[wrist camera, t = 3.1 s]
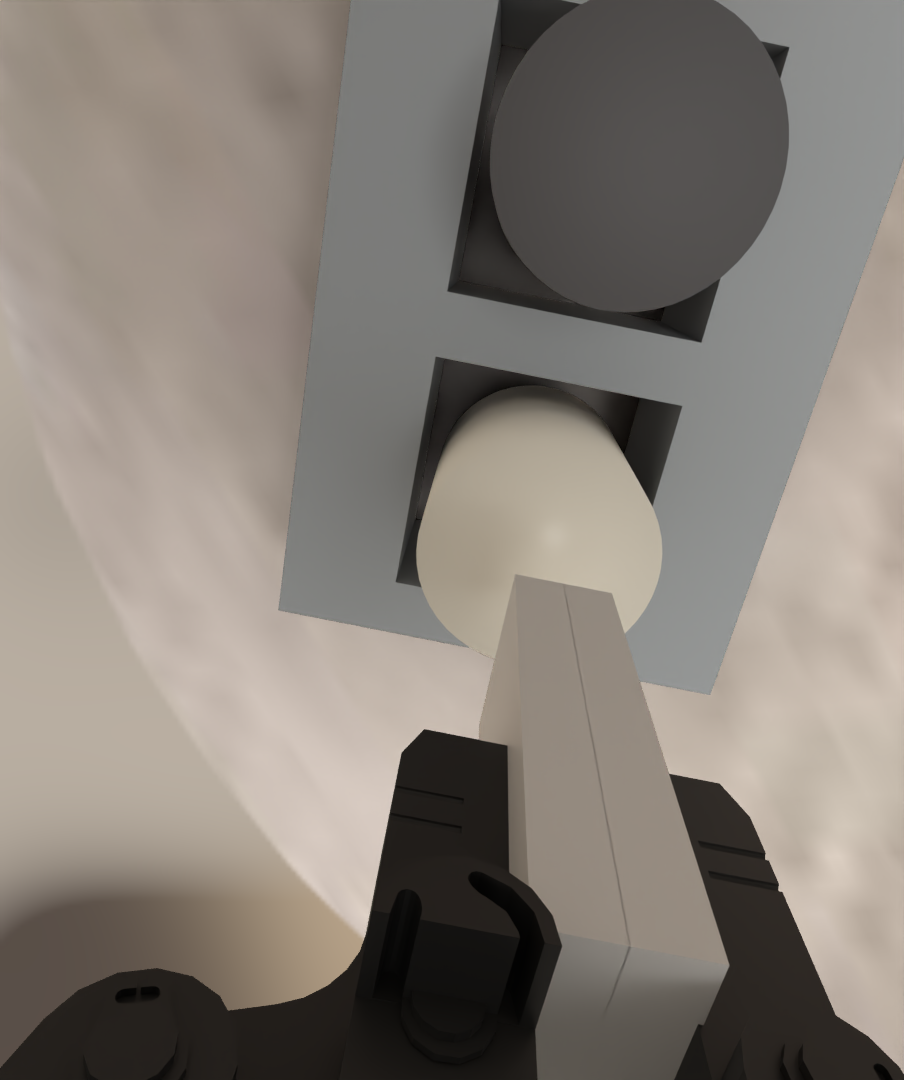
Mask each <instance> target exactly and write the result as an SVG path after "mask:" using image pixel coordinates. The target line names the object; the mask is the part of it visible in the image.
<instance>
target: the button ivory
mask: <svg viewBox="0 0 904 1080" xmlns="http://www.w3.org/2000/svg"><path fill="white" fill-rule="evenodd" d="M416 558H417V570H418V576H419V580H420V584H421V587H422V590H423V593H424V595H425V597H426V599H427V602H428V604H429V606H430V607H431V609H432V610H433V612H434V614H435V615H436V617H437V618H438V619H439V621H440V622H441V623H442V624H443V625H444V626H445V628H446V629H447V630H448V631H449V632H450V633H452V634H453V635H454V636H455V637H456V638H457V639H458V640H460V641H461V642H463V643H464V644H465V645H467V646H468V647H470V648H471V649H473V650H475V651H477V652H479V653H481V654H483V655H485V656H488V657H490V658H493V659H495V656H496V652H497V648H498V644H499V640H500V635H501V631H502V627H503V623H504V619H505V614H506V610H507V606H508V602H509V598H510V594H511V589H512V585H513V581H514V577H515V574H517V575H522V576H527V577H532V578H538V579H543V580H548V581H553V582H558V583H563V584H568V585H573V586H578V587H583V588H588V589H593V590H598V591H603V592H608V593H612V595H613V598H614V601H615V605H616V608H617V611H618V614H619V617H620V620H621V624H622V627H623V630H624V633H626V632H627V631H628V630H629V629H630V628H631V627H632V626H633V625H634V624H635V623H636V621H637V620H638V619H639V617H640V616H641V615H642V613H643V612H644V611H645V609H646V607H647V605H648V603H649V602H650V600H651V598H652V596H653V593H654V591H655V588H656V586H657V583H658V579H659V575H660V571H661V564H662V538H661V533H660V528H659V523H658V520H657V517H656V515H655V512H654V509H653V507H652V505H651V503H650V501H649V499H648V498H647V496H646V494H645V492H644V490H643V488H642V487H641V485H640V483H639V481H638V480H637V478H636V476H635V474H634V472H633V471H632V469H631V467H630V465H629V463H628V462H627V460H626V458H625V456H624V454H623V453H622V451H621V449H620V447H619V445H618V444H617V442H616V440H615V438H614V436H613V435H612V433H611V431H610V429H609V427H608V426H607V425H606V423H605V422H604V420H603V419H602V418H601V417H600V416H599V414H598V413H597V412H596V411H595V410H594V409H593V408H591V407H590V406H589V405H588V404H586V403H585V402H584V401H582V400H580V399H579V398H577V397H575V396H574V395H572V394H569V393H567V392H564V391H562V390H558V389H555V388H551V387H545V386H518V387H511V388H508V389H504V390H500V391H498V392H496V393H493V394H491V395H489V396H487V397H485V398H483V399H482V400H480V401H478V402H477V403H476V404H474V405H473V406H472V407H470V408H469V409H468V410H467V411H466V412H465V413H464V414H463V415H462V416H461V417H460V418H459V420H458V421H457V422H456V424H455V425H454V426H453V428H452V429H451V431H450V433H449V435H448V436H447V439H446V441H445V444H444V446H443V449H442V452H441V456H440V459H439V463H438V466H437V470H436V473H435V477H434V480H433V484H432V487H431V490H430V494H429V497H428V501H427V504H426V508H425V511H424V515H423V518H422V522H421V526H420V529H419V533H418V539H417V548H416Z"/></svg>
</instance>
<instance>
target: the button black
mask: <svg viewBox="0 0 904 1080" xmlns="http://www.w3.org/2000/svg"><path fill="white" fill-rule="evenodd" d="M788 149H789V120H788V111H787V103H786V99H785V95H784V91H783V87H782V83H781V80H780V78H779V75H778V73H777V70H776V68H775V65H774V63H773V61H772V59H771V57H770V56H769V54H768V52H767V50H766V49H765V47H764V45H763V44H762V42H761V41H760V40H759V39H758V37H757V36H756V35H755V34H754V32H753V31H752V30H751V28H750V27H749V26H748V25H746V24H745V23H744V22H743V21H742V20H741V19H740V18H739V17H738V16H737V15H736V14H735V13H733V12H732V11H730V10H729V9H727V8H726V7H724V6H723V5H721V4H720V3H719V2H717V1H715V0H589V1H587V2H585V3H583V4H581V5H579V6H577V7H576V8H574V9H573V10H571V11H570V12H568V13H567V14H565V15H564V16H563V17H561V18H560V19H558V20H557V21H556V22H555V23H554V24H553V25H552V26H551V27H550V28H548V29H547V30H546V31H545V32H544V33H543V34H542V35H541V36H540V37H539V38H538V40H537V41H536V42H535V43H534V44H533V45H532V47H531V48H530V49H529V50H528V51H527V53H526V54H525V56H524V57H523V59H522V60H521V62H520V63H519V65H518V66H517V68H516V69H515V71H514V73H513V75H512V77H511V79H510V81H509V83H508V85H507V87H506V89H505V91H504V94H503V97H502V100H501V102H500V105H499V108H498V111H497V115H496V119H495V123H494V127H493V132H492V140H491V148H490V178H491V187H492V194H493V198H494V203H495V207H496V211H497V215H498V219H499V222H500V225H501V227H502V230H503V233H504V235H505V237H506V239H507V241H508V242H509V244H510V246H511V247H512V249H513V250H514V252H515V253H516V254H517V256H518V257H519V258H520V260H521V261H522V262H523V263H524V264H525V265H526V266H527V268H528V269H529V270H530V271H531V272H532V273H533V274H534V275H535V276H536V277H537V278H538V279H539V280H541V281H542V282H543V283H544V284H546V285H547V286H548V287H549V288H550V289H552V290H554V291H555V292H557V293H559V294H560V295H562V296H564V297H565V298H567V299H570V300H572V301H574V302H577V303H579V304H581V305H584V306H588V307H591V308H595V309H599V310H605V311H613V312H640V311H647V310H654V309H658V308H662V307H665V306H669V305H673V304H675V303H677V302H680V301H682V300H685V299H687V298H689V297H691V296H693V295H695V294H697V293H699V292H700V291H702V290H704V289H706V288H707V287H709V286H710V285H711V284H713V283H714V282H715V281H717V280H718V279H720V278H721V277H722V276H724V275H725V274H726V273H727V272H728V271H729V270H730V269H731V268H732V267H733V266H734V265H735V264H736V263H737V262H738V261H739V260H740V259H741V258H742V257H743V256H744V254H745V253H746V252H747V251H748V250H749V248H750V247H751V246H752V245H753V243H754V242H755V240H756V239H757V237H758V236H759V234H760V233H761V231H762V230H763V228H764V226H765V224H766V222H767V220H768V218H769V216H770V214H771V213H772V211H773V208H774V206H775V203H776V200H777V198H778V195H779V193H780V190H781V186H782V182H783V178H784V174H785V170H786V165H787V157H788Z"/></svg>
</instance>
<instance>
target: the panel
mask: <svg viewBox="0 0 904 1080" xmlns="http://www.w3.org/2000/svg"><path fill="white" fill-rule="evenodd" d="M587 1H589V0H351V4H350V12H349V20H348V29H347V37H346V46H345V54H344V63H343V71H342V79H341V88H340V96H339V105H338V113H337V122H336V130H335V138H334V147H333V155H332V164H331V172H330V180H329V189H328V197H327V206H326V214H325V223H324V231H323V239H322V248H321V256H320V265H319V273H318V282H317V290H316V298H315V307H314V315H313V324H312V332H311V341H310V349H309V357H308V366H307V374H306V383H305V391H304V399H303V408H302V416H301V425H300V433H299V442H298V450H297V458H296V467H295V475H294V484H293V492H292V501H291V509H290V517H289V526H288V534H287V543H286V551H285V560H284V568H283V576H282V585H281V593H280V602H279V610H280V611H285V612H290V613H295V614H300V615H305V616H310V617H315V618H320V619H325V620H331V621H336V622H341V623H346V624H351V625H356V626H361V627H366V628H371V629H376V630H381V631H387V632H392V633H397V634H402V635H407V636H412V637H417V638H422V639H427V640H432V641H437V642H443V643H448V644H453V645H458V646H463V647H468V646H467V645H465V644H464V643H463V642H461V641H460V640H458V639H457V638H456V637H455V636H454V635H453V634H452V633H450V632H449V631H448V630H447V629H446V628H445V626H444V625H443V624H442V623H441V622H440V621H439V619H438V618H437V617H436V615H435V614H434V612H433V610H432V609H431V607H430V606H429V604H428V602H427V599H426V597H425V595H424V593H423V590H422V587H421V584H420V580H419V576H418V570H417V558H416V548H417V539H418V533H419V529H420V526H421V522H422V521H420V520H415V518H416V513H417V507H418V502H419V496H420V491H421V485H422V480H423V474H424V469H425V463H426V458H427V452H428V447H429V441H430V436H431V430H432V425H433V419H434V414H435V408H436V403H437V397H438V392H439V386H440V381H441V375H442V370H443V364H444V359H450V360H455V361H460V362H465V363H470V364H475V365H480V366H485V367H490V368H495V369H500V370H505V371H510V372H515V373H520V374H525V375H530V376H535V377H540V378H545V379H550V380H555V381H560V382H565V383H570V384H575V385H580V386H585V387H590V388H595V389H600V390H605V391H610V392H615V393H620V394H625V395H630V396H635V397H640V399H639V403H638V406H637V410H636V414H635V417H634V421H633V424H632V428H631V432H630V435H629V439H628V443H627V446H626V450H625V453H624V456H625V458H626V460H627V462H628V463H629V465H630V467H631V469H632V471H633V472H634V474H635V476H636V478H637V480H638V481H639V483H640V485H641V487H642V488H643V490H644V492H645V494H646V496H647V498H648V499H649V501H650V503H651V505H652V507H653V509H654V512H655V515H656V517H657V520H658V523H659V528H660V533H661V538H662V564H661V571H660V575H659V579H658V583H657V586H656V588H655V591H654V593H653V596H652V598H651V600H650V602H649V603H648V605H647V607H646V609H645V611H644V612H643V613H642V615H641V616H640V617H639V619H638V620H637V621H636V623H635V624H634V625H633V626H632V627H631V628H630V629H629V630H628V631H627V632H626V633H625V636H626V639H627V643H628V646H629V649H630V652H631V655H632V658H633V662H634V665H635V668H636V671H637V674H638V677H639V681H641V682H646V683H651V684H656V685H661V686H666V687H672V688H677V689H682V690H687V691H692V692H697V693H702V694H707V695H710V694H711V691H712V688H713V685H714V683H715V680H716V677H717V674H718V672H719V669H720V666H721V663H722V661H723V658H724V655H725V652H726V649H727V647H728V644H729V641H730V638H731V636H732V633H733V630H734V627H735V624H736V622H737V619H738V616H739V613H740V611H741V608H742V605H743V602H744V600H745V597H746V594H747V591H748V588H749V586H750V583H751V580H752V577H753V575H754V572H755V569H756V566H757V563H758V561H759V558H760V555H761V552H762V550H763V547H764V544H765V541H766V539H767V536H768V533H769V530H770V527H771V525H772V522H773V519H774V516H775V514H776V511H777V508H778V505H779V503H780V500H781V497H782V494H783V491H784V489H785V486H786V483H787V480H788V478H789V475H790V472H791V469H792V466H793V464H794V461H795V458H796V455H797V453H798V450H799V447H800V444H801V442H802V439H803V436H804V433H805V430H806V428H807V425H808V422H809V419H810V417H811V414H812V411H813V408H814V405H815V403H816V400H817V397H818V394H819V392H820V389H821V386H822V383H823V381H824V378H825V375H826V372H827V369H828V367H829V364H830V361H831V358H832V356H833V353H834V350H835V347H836V344H837V342H838V339H839V336H840V333H841V331H842V328H843V325H844V322H845V320H846V317H847V314H848V311H849V308H850V306H851V303H852V300H853V297H854V295H855V292H856V289H857V286H858V284H859V281H860V278H861V275H862V272H863V270H864V267H865V264H866V261H867V259H868V256H869V253H870V250H871V247H872V245H873V242H874V239H875V236H876V234H877V231H878V228H879V225H880V223H881V220H882V217H883V214H884V211H885V209H886V206H887V203H888V200H889V198H890V195H891V192H892V189H893V186H894V184H895V181H896V178H897V175H898V173H899V170H900V167H901V164H902V162H903V159H904V0H715V1H717V2H719V3H720V4H721V5H723V6H724V7H726V8H727V9H729V10H730V11H732V12H733V13H735V14H736V15H737V16H738V17H739V18H740V19H741V20H742V21H743V22H744V23H745V24H746V25H748V26H749V27H750V28H751V30H752V31H753V32H754V34H755V35H756V36H757V37H758V39H759V40H760V41H761V42H762V44H763V45H764V47H765V49H766V50H767V52H768V54H769V56H770V57H771V59H772V61H773V63H774V65H775V68H776V70H777V73H778V75H779V78H780V80H781V83H782V87H783V91H784V95H785V99H786V103H787V111H788V120H789V149H788V157H787V165H786V170H785V174H784V178H783V182H782V186H781V190H780V193H779V195H778V198H777V200H776V203H775V206H774V208H773V211H772V213H771V214H770V216H769V218H768V220H767V222H766V224H765V226H764V228H763V230H762V231H761V233H760V234H759V236H758V237H757V239H756V240H755V242H754V243H753V245H752V246H751V247H750V248H749V250H748V251H747V252H746V253H745V254H744V256H743V257H742V258H741V259H740V260H739V261H738V262H737V263H736V264H735V265H734V266H733V267H732V268H731V269H730V270H729V271H728V272H727V273H726V274H725V275H724V276H722V277H721V278H720V279H718V280H717V281H715V282H714V283H713V284H711V285H710V286H709V287H707V288H706V289H704V290H702V291H700V292H699V293H697V294H695V295H693V296H691V297H689V298H687V299H685V300H682V301H680V302H677V303H675V304H673V305H669V306H665V309H664V313H663V316H662V320H661V321H656V320H651V319H646V318H641V317H636V316H631V315H626V314H621V313H616V312H611V311H605V310H599V309H595V308H591V307H586V306H581V305H576V304H571V303H567V302H562V301H557V300H552V299H547V298H542V297H537V296H532V295H527V294H522V293H517V292H512V291H507V290H502V289H497V288H492V287H487V286H482V285H477V284H472V283H467V282H462V281H459V276H460V271H461V265H462V259H463V254H464V248H465V243H466V237H467V232H468V226H469V221H470V215H471V210H472V204H473V199H474V193H475V188H476V182H477V177H478V171H479V166H480V160H481V155H482V149H483V144H484V138H485V133H486V127H487V122H488V116H489V111H490V105H491V100H492V94H493V89H494V83H495V78H496V72H497V67H498V61H499V56H500V50H501V45H507V46H512V47H517V48H521V49H526V50H529V49H530V48H531V47H532V45H533V44H534V43H535V42H536V41H537V40H538V38H539V37H540V36H541V35H542V34H543V33H544V32H545V31H546V30H547V29H548V28H550V27H551V26H552V25H553V24H554V23H555V22H556V21H557V20H558V19H560V18H561V17H563V16H564V15H565V14H567V13H568V12H570V11H571V10H573V9H574V8H576V7H577V6H579V5H581V4H583V3H585V2H587ZM468 648H470V647H468Z"/></svg>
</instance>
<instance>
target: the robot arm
mask: <svg viewBox="0 0 904 1080" xmlns="http://www.w3.org/2000/svg"><path fill="white" fill-rule="evenodd" d="M765 854H766V853H765V851H764V849H763V846H762V844H761V842H760V839H759V837H758V835H757V832H756V830H755V828H754V825H753V823H752V821H751V819H750V817H749V816H748V815H747V813H746V812H745V811H744V810H743V809H742V808H741V807H740V806H739V805H738V803H737V802H736V801H735V800H734V799H733V798H732V797H731V796H730V795H729V794H728V792H727V791H726V790H725V789H724V788H723V787H722V786H721V785H720V784H719V783H713V782H708V781H703V780H698V779H693V778H688V777H683V776H677V775H672V774H669V772H668V769H667V766H666V763H665V760H664V757H663V753H662V750H661V747H660V744H659V741H658V738H657V734H656V731H655V728H654V725H653V722H652V719H651V715H650V712H649V709H648V706H647V703H646V700H645V696H644V693H643V690H642V687H641V684H640V681H639V677H638V674H637V671H636V668H635V665H634V662H633V658H632V655H631V652H630V649H629V646H628V643H627V639H626V636H625V633H624V630H623V627H622V624H621V620H620V617H619V614H618V611H617V608H616V605H615V601H614V598H613V595H612V593H608V592H603V591H598V590H593V589H588V588H583V587H578V586H573V585H568V584H563V583H558V582H553V581H548V580H543V579H538V578H532V577H527V576H522V575H517V574H515V577H514V581H513V585H512V589H511V594H510V598H509V602H508V606H507V610H506V614H505V619H504V623H503V627H502V631H501V635H500V640H499V644H498V648H497V652H496V656H495V661H494V665H493V669H492V673H491V677H490V682H489V686H488V690H487V694H486V698H485V703H484V707H483V711H482V715H481V719H480V724H479V740H477V739H472V738H466V737H461V736H456V735H451V734H446V733H441V732H436V731H430V730H425V729H424V730H423V731H422V732H421V733H420V734H419V735H418V736H417V737H416V739H415V740H414V741H413V742H412V743H411V744H410V745H409V746H408V747H407V748H406V749H405V750H404V751H403V752H402V754H401V759H400V764H399V769H398V774H397V779H396V784H395V789H394V794H393V799H392V804H391V809H390V814H389V819H388V824H387V829H386V834H385V839H384V844H383V849H382V854H381V860H380V865H379V870H378V875H377V880H376V885H375V890H374V896H373V901H372V906H371V911H370V916H369V921H368V926H367V932H366V936H365V939H364V941H363V944H362V947H361V950H360V952H359V953H358V955H357V956H356V958H355V959H354V960H353V962H352V963H351V965H350V966H349V968H348V969H347V970H346V971H345V972H343V973H342V974H341V975H340V976H339V977H338V978H336V979H335V980H334V981H333V982H332V983H331V984H329V985H328V986H326V987H324V988H322V989H320V990H318V991H316V992H314V993H312V994H310V995H308V996H306V997H304V998H301V999H297V1000H292V1001H288V1002H285V1003H281V1004H275V1005H268V1006H261V1007H253V1008H245V1009H238V1010H230V1011H228V1010H227V1008H226V1007H225V1005H224V1003H223V1001H222V999H221V997H220V996H219V995H218V994H216V993H215V992H213V991H212V990H211V989H209V988H208V987H206V986H205V985H204V984H202V983H201V982H200V981H198V980H197V979H195V978H194V977H193V976H189V975H184V974H180V973H175V972H171V971H167V970H162V969H158V968H156V969H147V970H139V971H130V972H121V973H116V974H114V975H112V976H109V977H107V978H105V979H103V980H100V981H98V982H96V983H93V984H91V985H89V986H87V987H84V988H82V989H80V990H78V991H77V992H76V993H74V995H72V996H71V997H70V998H68V999H67V1000H66V1001H65V1002H64V1003H62V1004H61V1005H60V1006H59V1007H58V1008H56V1009H55V1010H54V1011H53V1012H52V1013H50V1014H49V1015H48V1016H47V1017H46V1018H45V1019H44V1020H43V1021H42V1022H41V1023H40V1024H39V1025H38V1026H37V1027H36V1028H35V1030H34V1031H33V1032H32V1033H31V1034H30V1035H29V1036H28V1037H27V1039H26V1040H25V1041H24V1042H23V1043H22V1044H21V1046H19V1048H18V1049H17V1050H16V1051H15V1052H14V1053H13V1054H12V1056H11V1057H10V1058H9V1059H8V1060H7V1061H6V1062H5V1063H4V1064H3V1066H2V1067H1V1068H0V1080H904V1074H903V1072H902V1071H901V1069H900V1068H899V1066H898V1065H897V1064H896V1063H895V1062H894V1061H893V1060H892V1059H890V1058H889V1057H888V1056H887V1055H886V1054H885V1053H884V1052H883V1051H882V1050H881V1049H880V1048H879V1047H878V1046H877V1045H876V1044H875V1043H874V1042H873V1041H872V1040H871V1039H870V1038H869V1037H868V1036H867V1035H865V1034H863V1033H862V1032H860V1031H859V1030H857V1029H856V1028H854V1027H853V1026H851V1025H850V1024H848V1023H847V1022H845V1021H843V1020H842V1019H840V1018H839V1017H837V1016H836V1015H835V1013H834V1010H833V1008H832V1006H831V1003H830V1001H829V999H828V996H827V994H826V992H825V989H824V987H823V985H822V983H821V980H820V978H819V976H818V973H817V971H816V969H815V966H814V964H813V962H812V959H811V957H810V955H809V953H808V950H807V948H806V946H805V943H804V941H803V939H802V936H801V934H800V932H799V929H798V927H797V925H796V922H795V920H794V918H793V916H792V913H791V911H790V909H789V906H788V904H787V902H786V899H785V897H784V895H783V892H779V891H778V886H779V883H778V881H777V879H776V876H775V874H774V872H773V869H772V867H771V865H770V862H769V861H768V860H765Z"/></svg>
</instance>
